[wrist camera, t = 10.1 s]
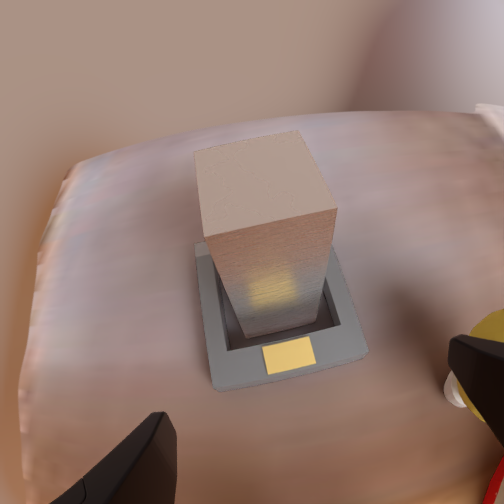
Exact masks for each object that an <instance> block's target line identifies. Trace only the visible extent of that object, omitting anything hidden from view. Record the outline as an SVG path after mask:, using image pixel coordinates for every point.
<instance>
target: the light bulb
mask: <svg viewBox="0 0 504 504" xmlns="http://www.w3.org/2000/svg"><path fill="white" fill-rule="evenodd" d="M469 336H473V337H478V338H483V339H488V340H494V341H499V342H504V309H502V310H499V311H496V312H493V313H491V314H489V315H488V316H487V317H485V318H484V319H483V320H482V321H481V322H480V323H478V324H477V325H476V326H475V327H474V328H473V329H472V331H471V333H470V334H469ZM444 395H445V397H446V399H447V400H448V401H449V402H451V403H452V404H454V405H455V406H457V407H468V408H469V409H470V410H471V411H472V412H473V413H474V414H475V415H476V416H477V417H478V418H479V419H480V420H481V421H483V422H485V420H484V419H483V418H482V416H481V415H480V413H479V412H478V411H477V409H476V408H475V407H474V405H473V404H472V403H471V401H470V400H469V398H468V397H467V395H466V394H465V392H464V390H463V388H462V387H461V385H460V383H459V382H458V380H457V378H456V377H455V375H454V373H453V372H452V370H451V372H450V373H449V375H448V377H447V380H446V381H445V384H444Z"/></svg>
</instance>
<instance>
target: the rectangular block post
mask: <svg viewBox="0 0 504 504" xmlns="http://www.w3.org/2000/svg"><path fill="white" fill-rule="evenodd" d="M194 160H195V169H196V178H197V186H198V195H199V203H200V211H201V219H202V226H203V234H204V239H205V241H206V244H207V246H208V249H209V251H210V254H211V256H212V258H213V261H214V263H215V266H216V268H217V271H218V273H219V276H220V278H221V280H222V283H223V285H224V288H225V290H226V292H227V295H228V297H229V300H230V302H231V304H232V307H233V309H234V311H235V314H236V316H237V319H238V321H239V323H240V326H241V328H242V330H243V332H244V335H245V337H246V339H248V338H253V337H257V336H262V335H266V334H270V333H275V332H279V331H283V330H287V329H291V328H295V327H299V326H303V325H307V324H311V323H315V321H316V316H317V312H318V307H319V303H320V298H321V294H322V289H323V284H324V279H325V274H326V269H327V264H328V259H329V254H330V248H331V243H332V237H333V232H334V226H335V220H336V214H337V206H336V203H335V201H334V199H333V197H332V195H331V193H330V191H329V189H328V187H327V185H326V183H325V181H324V179H323V177H322V175H321V173H320V171H319V169H318V167H317V165H316V163H315V161H314V159H313V157H312V155H311V153H310V151H309V149H308V147H307V146H306V144H305V142H304V140H303V138H302V136H301V134H300V132H299V131H291V132H286V133H280V134H274V135H269V136H263V137H258V138H253V139H248V140H243V141H239V142H234V143H229V144H225V145H220V146H216V147H212V148H207V149H203V150H199V151H195V152H194Z"/></svg>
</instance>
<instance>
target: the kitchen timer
mask: <svg viewBox="0 0 504 504" xmlns="http://www.w3.org/2000/svg"><path fill="white" fill-rule="evenodd" d="M482 504H504V456H503V457H502V459H501V461H500V463H499V465H498V467H497V469H496V471H495V473H494V475H493V477H492V479H491V480H490V483H489V486H488V489H487V492H486V495H485V497H484V500H483V503H482Z"/></svg>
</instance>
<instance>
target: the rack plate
mask: <svg viewBox="0 0 504 504" xmlns="http://www.w3.org/2000/svg"><path fill="white" fill-rule="evenodd" d="M194 249H195V258H196V267H197V276H198V285H199V293H200V301H201V309H202V317H203V324H204V332H205V339H206V346H207V353H208V359H209V366H210V372H211V379H212V385H213V388H214V389H215V390H217V391H219V392H223V391H229V390H235V389H240V388H246V387H251V386H256V385H261V384H266V383H271V382H275V381H280V380H284V379H289V378H293V377H297V376H301V375H305V374H309V373H313V372H317V371H321V370H325V369H328V368H332V367H336V366H339V365H343V364H346V363H349V362H353V361H356V360H359V359H362V358H363V357H364V356H365V355H366V354H367V353H368V352H369V349H368V346H367V343H366V340H365V337H364V334H363V331H362V328H361V325H360V322H359V319H358V316H357V313H356V310H355V307H354V304H353V301H352V298H351V295H350V292H349V290H348V287H347V284H346V281H345V278H344V276H343V273H342V270H341V268H340V265H339V262H338V259H337V257H336V254H335V252H334V249H333V246H332V244H331V248H330V254H329V259H328V264H327V269H326V274H325V279H324V284H323V291H324V294H325V297H326V300H327V303H328V307H329V310H330V313H331V316H332V319H333V323H334V326H335V327H331V328H327V329H324V330H320V331H316V332H312V333H308V334H304V335H300V336H295V337H291V338H287V339H283V340H278V341H274V342H269V343H265V344H260V345H255V346H251V347H246V348H241V349H236V350H230V344H229V338H228V333H227V327H226V321H225V315H224V309H223V302H222V296H221V290H220V284H219V277H218V271H217V268H216V266H215V263H214V261H213V258H212V256H211V254H210V251H209V249H208V246H207V244H206V241H204V242H199V243H195V244H194Z"/></svg>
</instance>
